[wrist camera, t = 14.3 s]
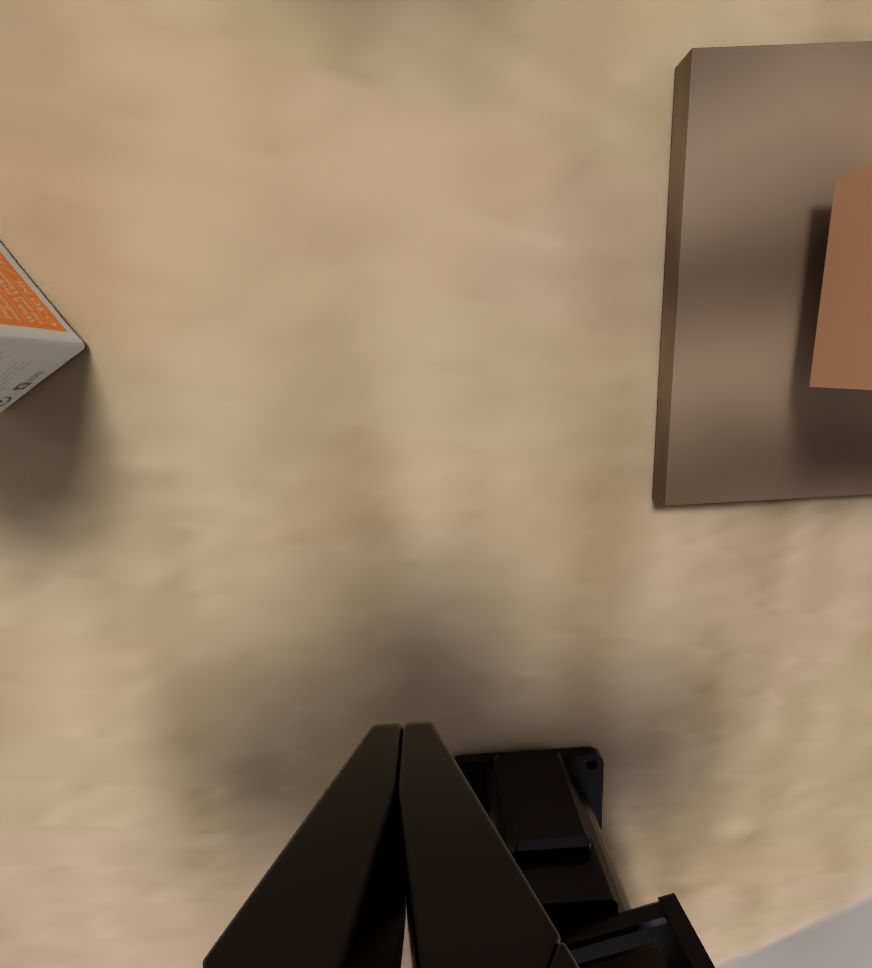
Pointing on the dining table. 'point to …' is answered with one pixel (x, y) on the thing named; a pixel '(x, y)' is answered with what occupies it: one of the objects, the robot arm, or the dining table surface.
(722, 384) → the board
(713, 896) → the dining table surface
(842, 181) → the salmon pink rectangular prism
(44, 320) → the skincare box
